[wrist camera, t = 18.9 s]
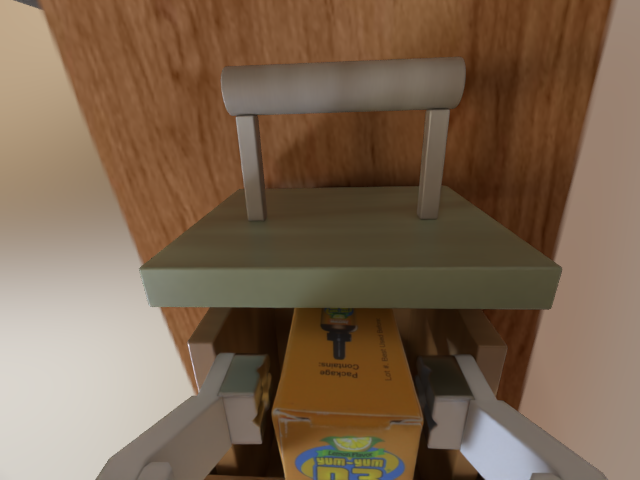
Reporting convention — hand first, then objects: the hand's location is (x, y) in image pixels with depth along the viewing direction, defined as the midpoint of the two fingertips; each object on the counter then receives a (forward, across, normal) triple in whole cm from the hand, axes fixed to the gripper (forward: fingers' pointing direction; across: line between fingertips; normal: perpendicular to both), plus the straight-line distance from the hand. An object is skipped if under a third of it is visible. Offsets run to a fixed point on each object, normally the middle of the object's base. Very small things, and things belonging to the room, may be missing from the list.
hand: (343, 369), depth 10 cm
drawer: (+8, 0, +1) cm, 8 cm away
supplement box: (+7, 0, 0) cm, 7 cm away
